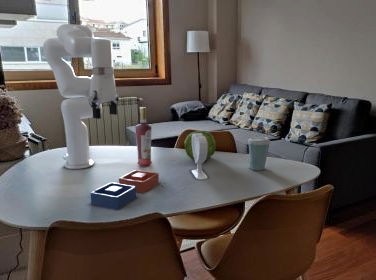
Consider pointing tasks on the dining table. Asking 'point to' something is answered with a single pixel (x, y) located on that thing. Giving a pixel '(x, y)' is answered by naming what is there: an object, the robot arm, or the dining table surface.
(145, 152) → the liquor
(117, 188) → the blue block
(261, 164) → the disposable coffee cup
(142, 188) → the rust bin
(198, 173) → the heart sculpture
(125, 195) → the blue bin
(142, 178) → the rust block
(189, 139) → the lettuce
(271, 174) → the dining table surface
